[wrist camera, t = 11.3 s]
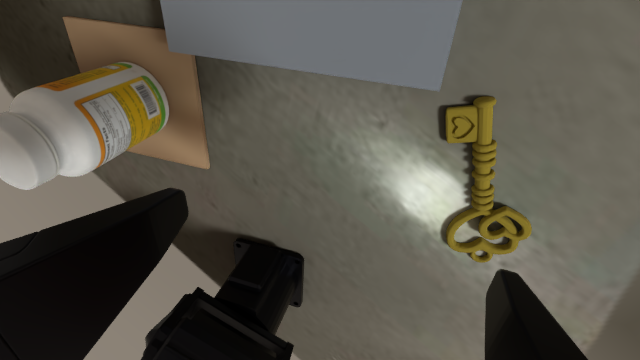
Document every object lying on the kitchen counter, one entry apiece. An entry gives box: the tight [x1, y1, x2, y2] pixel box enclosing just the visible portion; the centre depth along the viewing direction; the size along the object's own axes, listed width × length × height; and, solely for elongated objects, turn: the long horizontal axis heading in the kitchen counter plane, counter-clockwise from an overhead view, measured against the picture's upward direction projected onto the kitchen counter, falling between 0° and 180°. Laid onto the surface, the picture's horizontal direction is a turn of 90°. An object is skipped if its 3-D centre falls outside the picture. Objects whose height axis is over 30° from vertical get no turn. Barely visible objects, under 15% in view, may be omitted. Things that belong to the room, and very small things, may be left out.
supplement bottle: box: [0, 62, 169, 190], centre depth 21 cm, size 5×5×10 cm
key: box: [446, 96, 532, 262], centre depth 21 cm, size 12×1×5 cm
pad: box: [63, 16, 210, 169], centre depth 26 cm, size 10×10×1 cm
